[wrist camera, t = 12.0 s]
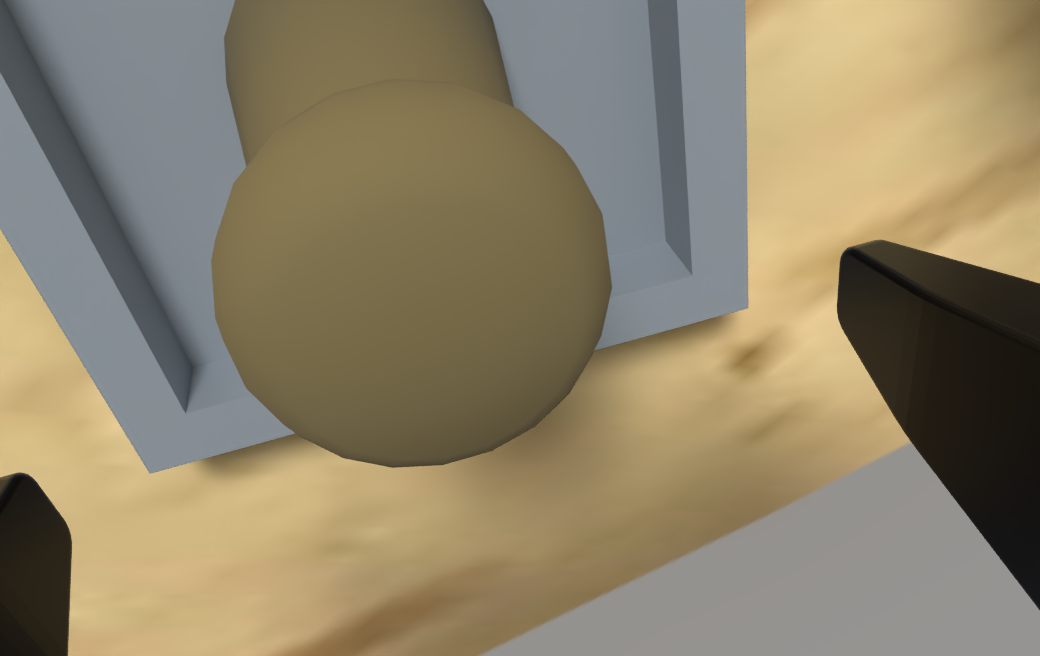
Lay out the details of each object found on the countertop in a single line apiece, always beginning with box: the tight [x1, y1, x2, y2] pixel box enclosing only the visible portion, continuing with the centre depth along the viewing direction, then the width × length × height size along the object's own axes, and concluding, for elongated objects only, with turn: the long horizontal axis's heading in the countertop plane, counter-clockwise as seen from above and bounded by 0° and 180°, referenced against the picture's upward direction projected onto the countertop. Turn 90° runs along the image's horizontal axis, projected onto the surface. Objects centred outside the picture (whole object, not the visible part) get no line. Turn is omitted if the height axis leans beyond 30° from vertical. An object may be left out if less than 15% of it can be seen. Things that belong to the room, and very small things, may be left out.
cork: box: [211, 0, 612, 467], centre depth 14 cm, size 6×6×11 cm
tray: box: [0, 0, 748, 474], centre depth 18 cm, size 16×16×2 cm
